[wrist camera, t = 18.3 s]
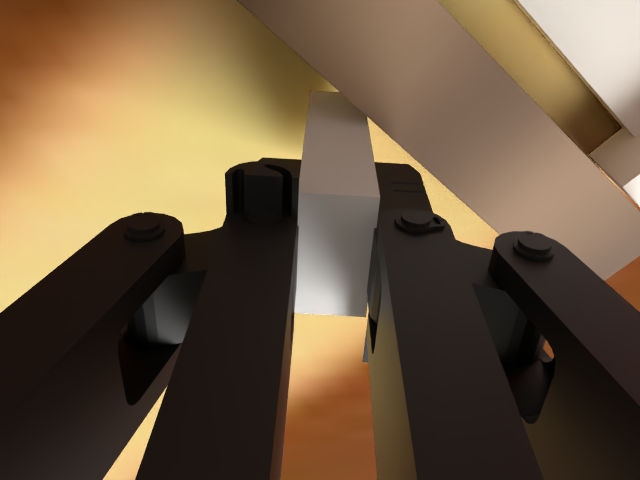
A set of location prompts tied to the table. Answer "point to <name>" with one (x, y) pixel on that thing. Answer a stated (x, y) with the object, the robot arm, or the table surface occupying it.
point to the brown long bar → (461, 119)
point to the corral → (601, 70)
